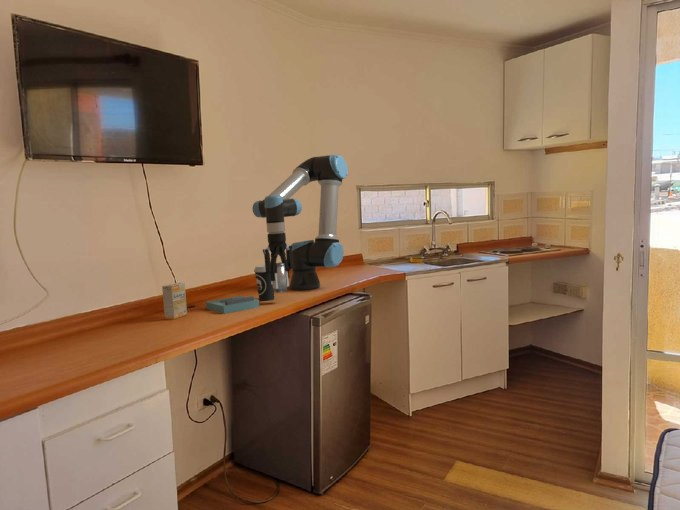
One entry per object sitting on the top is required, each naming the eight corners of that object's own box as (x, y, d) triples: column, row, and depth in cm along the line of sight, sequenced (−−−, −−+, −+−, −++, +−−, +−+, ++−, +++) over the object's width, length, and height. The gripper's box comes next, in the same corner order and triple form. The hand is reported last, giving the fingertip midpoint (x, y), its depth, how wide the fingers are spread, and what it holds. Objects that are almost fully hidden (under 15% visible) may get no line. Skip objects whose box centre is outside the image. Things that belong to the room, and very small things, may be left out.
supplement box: (174, 319, 199) (171, 286, 198) (164, 319, 201) (161, 285, 200) (188, 314, 207) (185, 282, 206) (178, 314, 209) (175, 282, 207)
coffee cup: (273, 301, 226) (271, 267, 224) (252, 301, 228) (250, 267, 226) (280, 297, 235) (278, 264, 234) (260, 297, 237) (258, 264, 236)
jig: (240, 302, 228) (239, 292, 227) (259, 306, 215) (258, 295, 215) (206, 308, 217) (205, 298, 217) (224, 313, 205) (223, 302, 205)
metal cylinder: (282, 289, 224) (280, 262, 223) (289, 290, 221) (286, 262, 219) (273, 291, 221) (271, 263, 220) (279, 292, 218) (277, 264, 216)
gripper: (288, 230, 226) (293, 282, 229) (253, 234, 215) (258, 290, 218) (298, 230, 220) (303, 284, 223) (262, 235, 209) (267, 292, 212)
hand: (281, 287), depth 221 cm, fingers closed on metal cylinder, 5 cm apart
